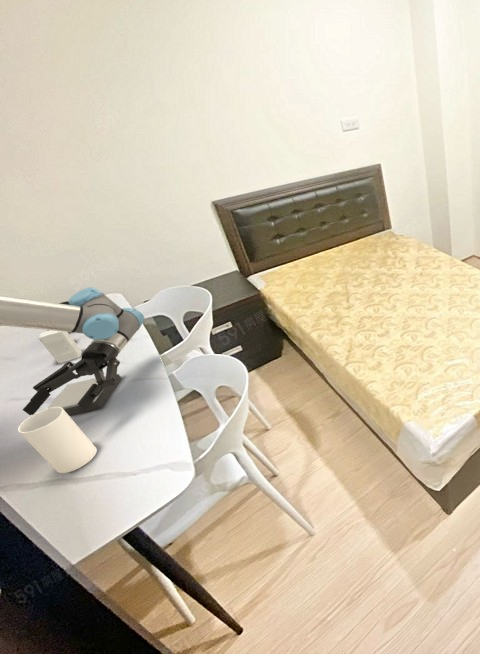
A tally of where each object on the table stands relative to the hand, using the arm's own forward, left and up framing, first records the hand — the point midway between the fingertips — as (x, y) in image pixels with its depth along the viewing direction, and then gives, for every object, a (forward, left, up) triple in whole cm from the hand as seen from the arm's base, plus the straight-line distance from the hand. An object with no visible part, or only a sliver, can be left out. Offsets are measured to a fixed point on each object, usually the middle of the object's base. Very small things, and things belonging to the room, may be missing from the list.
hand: (54, 409), depth 108 cm
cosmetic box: (-24, +47, -12) cm, 54 cm away
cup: (+3, -8, -12) cm, 15 cm away
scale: (-7, +19, -12) cm, 23 cm away
